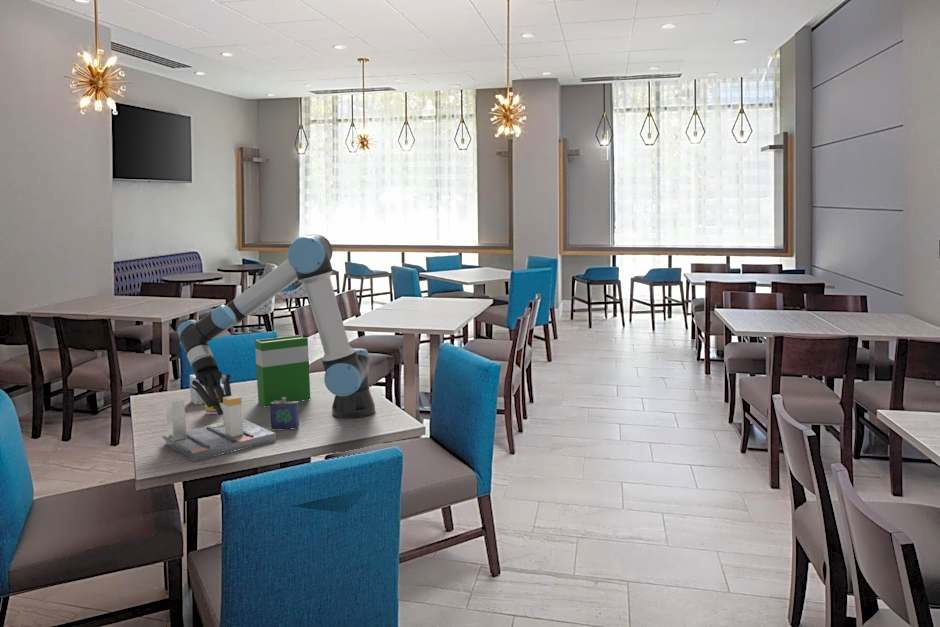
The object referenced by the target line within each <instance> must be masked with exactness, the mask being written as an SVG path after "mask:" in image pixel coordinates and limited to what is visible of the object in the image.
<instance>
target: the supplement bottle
mask: <svg viewBox="0 0 940 627" xmlns="http://www.w3.org/2000/svg"><path fill="white" fill-rule="evenodd" d="M220 381H221V379H220ZM220 385H221V387H222V390H223V392H224V393H225V391H224V384H223V385H222V384H220ZM204 390H205V391H206V389H205V388H204ZM206 392H207V391H206ZM215 393H216V391H215ZM207 394H208V392H207ZM208 395H209V394H208ZM216 395H217V393H216ZM217 398H218V396H217ZM218 400H219V398H218ZM220 403H221V402H220V400H219V404H220ZM204 404H205V414H207V415H209V414H217V411H216V409H213V407H208V406H207V405H206V403H204Z"/></svg>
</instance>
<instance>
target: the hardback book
mask: <svg viewBox="0 0 940 627" xmlns="http://www.w3.org/2000/svg"><path fill="white" fill-rule="evenodd" d="M308 339H309V338H308V337H302V334H296V335H288V336H287V335H286V336H279V337H270V338H263V339H254V347H255V348H254V349H255V350H254V351H255V368H256V369H255V370H256V382H257V383H256V384H257V385H256V386H257V402H259V403H260V404H259V403H258V404H259V405H261V406H262V405H263V407H264V406H265V407H264V408H267V407H266V406H270V403H271V402H275V401H277V402H278V401H281V400H282V399H281V398H282V397H286V399H285V400H286V402H293V401H300V402H303V401H302V400H306V401H310V400H311V383H310V382H311V381H310V362H309V361H310V360H309V340H308ZM309 399H310V400H309Z"/></svg>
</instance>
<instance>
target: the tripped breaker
mask: <svg viewBox="0 0 940 627" xmlns="http://www.w3.org/2000/svg"><path fill="white" fill-rule="evenodd" d="M231 395H232V394H231ZM223 406H224V421H225V434H226V435H228V436H230V437H235V436H239V435H243V422H242V419H243V408H242V397H241V396H239V395H237V394H233V395H232V396H227V397H223ZM224 421H223V422H224Z"/></svg>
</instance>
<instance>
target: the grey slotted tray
mask: <svg viewBox="0 0 940 627" xmlns="http://www.w3.org/2000/svg"><path fill="white" fill-rule="evenodd" d="M165 406H166V417H167V418H166V419H167V432H168V433H167V434H164V435H162V439H163V440H164V442H165V445H167V446H168V447H170V448H172V449H174V450H175V451H177V452H178V453H180V454H182V455H183V456H185V457H187V458H189V459H190V460H192V461H194V462H198V461H201V460H200V459H202V460H204V458H206V459H209V458H208V457H210V458H213V457H212V456H214V457H216V456H215V455H218V456H220V455H219V454H222V453H226V454H228V453H227V452H230V453H232V452H231V451H234V450H238V449H241V448H245V449H247V448H246V447H249V448H251V447H250V446H253V447H256V446H255V445H257V446H260V445H259V444H261V445H264V444H263V443H265V444H269V443H272V442H271V441H273V442H276V441H277V439H276V438H277V436H276V435H277V434H276V432H274V431H271V430H269V429H267V428H264V427H262V426H261V425H258V424H256V423H253V422H252V421H249V420H247V419H245V418H242V422H243V435H239V436H235V437H230V436H228V435H226V434H225V424H224V422H223V423H222V422H218V423H212V424H210V425H206V426H204V427H201V428H196V429H192V430H187V421H186V406H185V399H182V398H180V397H176V398H171V399H167V400H165ZM275 440H276V441H275ZM268 442H269V443H268ZM238 451H239V450H238ZM234 452H235V451H234ZM222 455H223V454H222ZM197 460H198V461H197Z"/></svg>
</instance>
